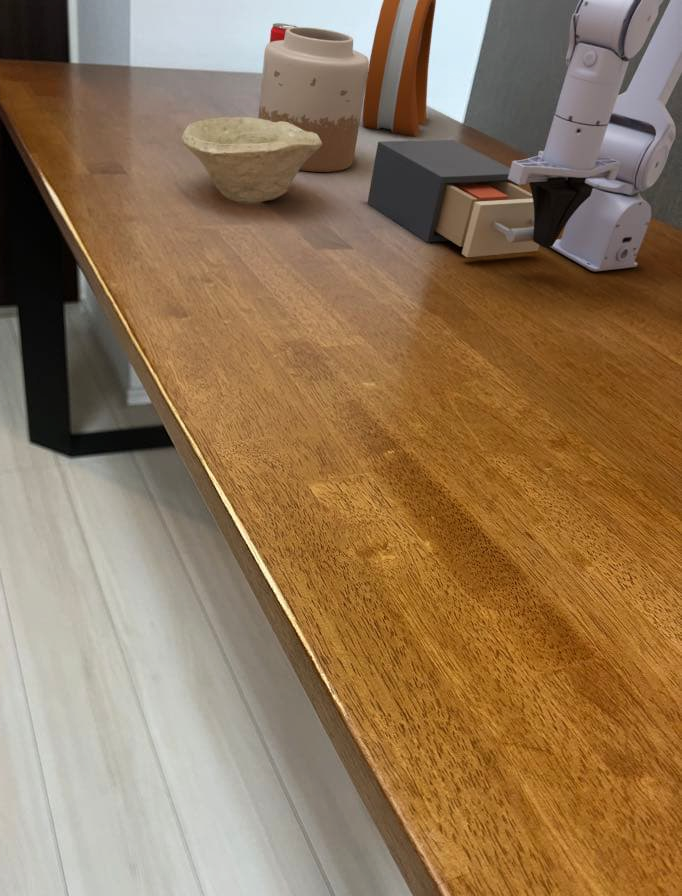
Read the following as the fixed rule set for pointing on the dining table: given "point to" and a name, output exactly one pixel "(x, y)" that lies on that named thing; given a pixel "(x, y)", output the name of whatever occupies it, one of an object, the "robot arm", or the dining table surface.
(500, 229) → the drawer
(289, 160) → the bowl
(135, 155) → the dining table surface
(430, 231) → the cabinet
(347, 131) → the vase
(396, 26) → the orange striped bag
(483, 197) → the block
